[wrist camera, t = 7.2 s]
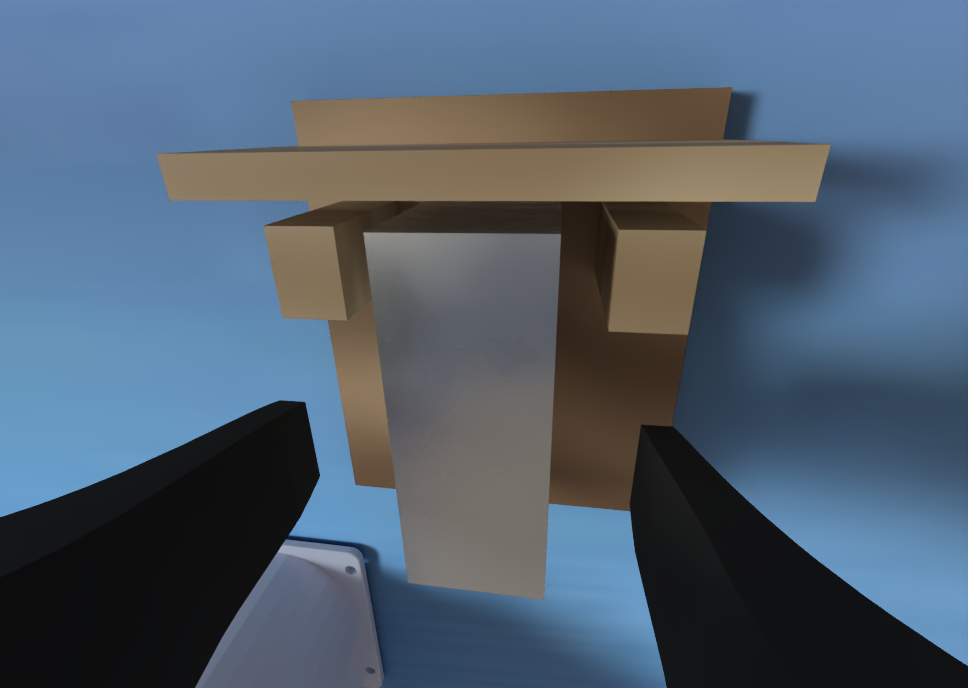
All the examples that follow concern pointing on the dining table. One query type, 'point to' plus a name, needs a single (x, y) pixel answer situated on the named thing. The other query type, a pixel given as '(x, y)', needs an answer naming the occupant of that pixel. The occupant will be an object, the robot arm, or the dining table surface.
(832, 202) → the dining table surface
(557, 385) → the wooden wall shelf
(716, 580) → the robot arm
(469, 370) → the gray rectangular block
